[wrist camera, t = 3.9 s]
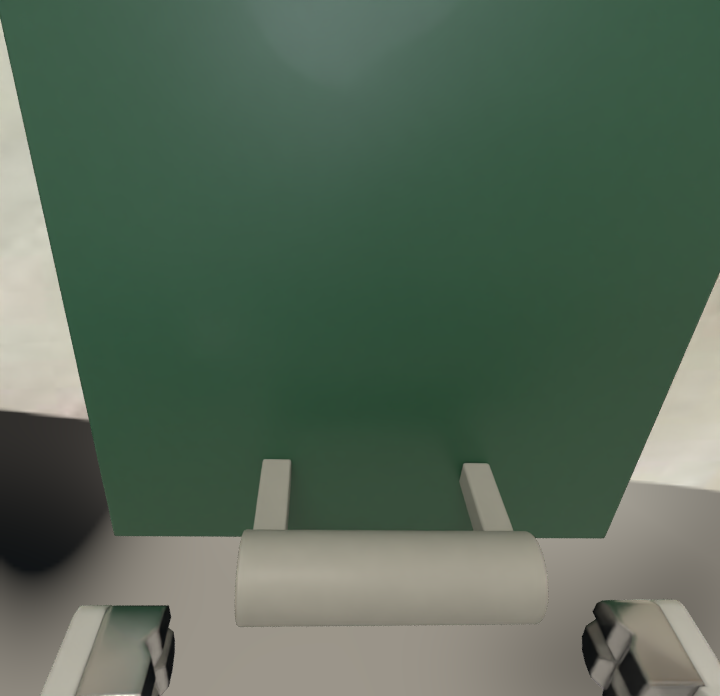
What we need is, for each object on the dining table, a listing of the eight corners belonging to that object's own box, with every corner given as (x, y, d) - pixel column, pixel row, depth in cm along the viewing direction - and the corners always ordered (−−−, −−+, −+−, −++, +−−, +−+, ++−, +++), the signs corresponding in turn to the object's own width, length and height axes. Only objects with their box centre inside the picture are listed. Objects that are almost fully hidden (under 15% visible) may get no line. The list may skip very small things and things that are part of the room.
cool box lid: (593, 517, 17) (682, 682, 12) (123, 513, 15) (50, 694, 11) (872, -170, 9) (1363, -336, 5) (-39, -284, 8) (-473, -644, 3)
